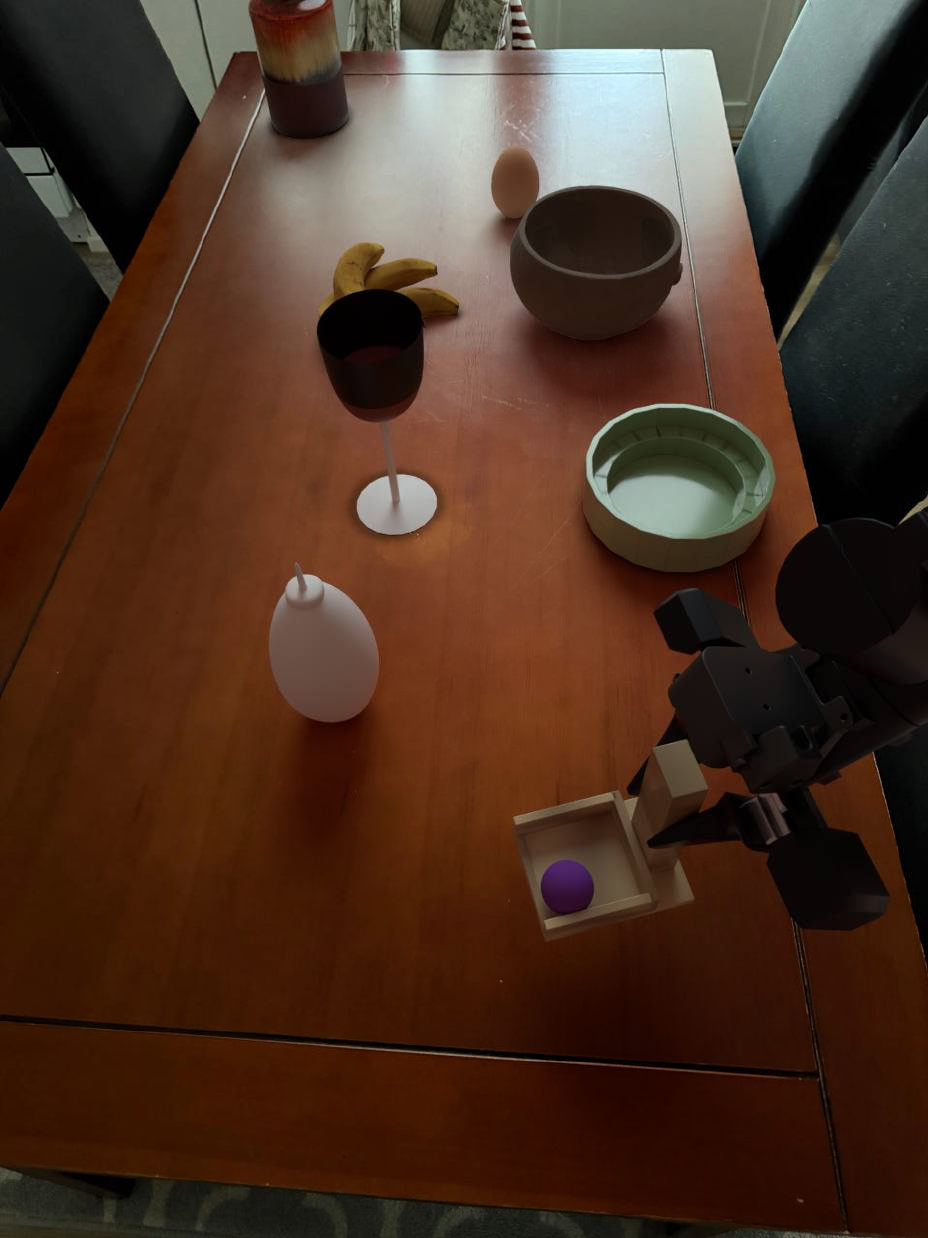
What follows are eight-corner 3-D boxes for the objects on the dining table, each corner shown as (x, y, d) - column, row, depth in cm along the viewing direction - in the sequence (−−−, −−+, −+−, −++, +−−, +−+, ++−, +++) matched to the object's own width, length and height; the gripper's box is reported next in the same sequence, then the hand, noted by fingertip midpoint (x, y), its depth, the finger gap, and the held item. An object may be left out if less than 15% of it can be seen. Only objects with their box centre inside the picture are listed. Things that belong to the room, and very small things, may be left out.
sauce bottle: (389, 659, 74) (360, 514, 60) (384, 744, 70) (352, 611, 55) (295, 661, 75) (243, 517, 60) (284, 746, 70) (225, 614, 55)
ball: (604, 868, 55) (604, 897, 52) (575, 906, 56) (573, 936, 53) (560, 840, 55) (557, 867, 52) (532, 878, 56) (528, 907, 53)
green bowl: (776, 465, 85) (789, 426, 81) (742, 596, 77) (755, 560, 72) (609, 427, 89) (614, 387, 85) (559, 548, 80) (562, 510, 76)
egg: (532, 231, 108) (534, 162, 101) (486, 225, 109) (485, 157, 102) (543, 204, 111) (545, 136, 104) (497, 199, 112) (497, 132, 106)
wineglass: (345, 536, 82) (304, 359, 66) (364, 467, 87) (330, 286, 71) (431, 543, 81) (412, 365, 65) (445, 472, 86) (430, 291, 70)
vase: (354, 131, 123) (331, -44, 106) (276, 143, 122) (240, -31, 105) (342, 94, 129) (318, -77, 113) (267, 105, 128) (232, -65, 111)
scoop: (651, 796, 59) (681, 702, 49) (693, 902, 55) (735, 824, 45) (512, 832, 58) (513, 744, 48) (545, 942, 54) (553, 872, 44)
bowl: (692, 285, 101) (709, 200, 93) (635, 382, 92) (647, 298, 84) (551, 248, 106) (555, 165, 98) (484, 337, 97) (482, 253, 89)
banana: (326, 390, 93) (316, 345, 89) (319, 280, 104) (310, 235, 100) (472, 373, 94) (470, 327, 89) (450, 265, 105) (447, 220, 100)
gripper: (718, 482, 44) (501, 655, 52) (919, 840, 33) (608, 988, 41) (823, 549, 51) (618, 692, 59) (1015, 861, 41) (735, 983, 48)
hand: (641, 818), depth 52 cm, fingers closed on scoop, 3 cm apart
